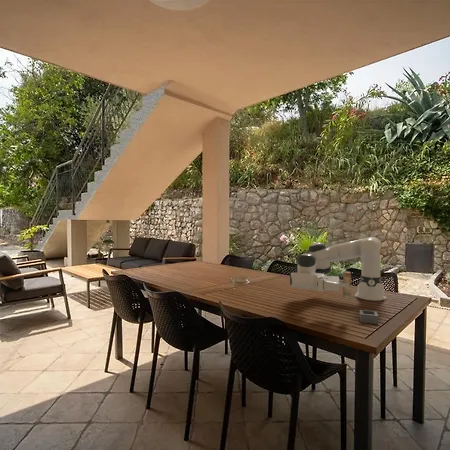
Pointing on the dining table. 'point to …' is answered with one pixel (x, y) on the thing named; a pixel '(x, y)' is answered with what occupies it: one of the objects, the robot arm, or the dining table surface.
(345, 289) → the dowel
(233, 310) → the dining table surface
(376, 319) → the square socket block
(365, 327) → the dining table surface
